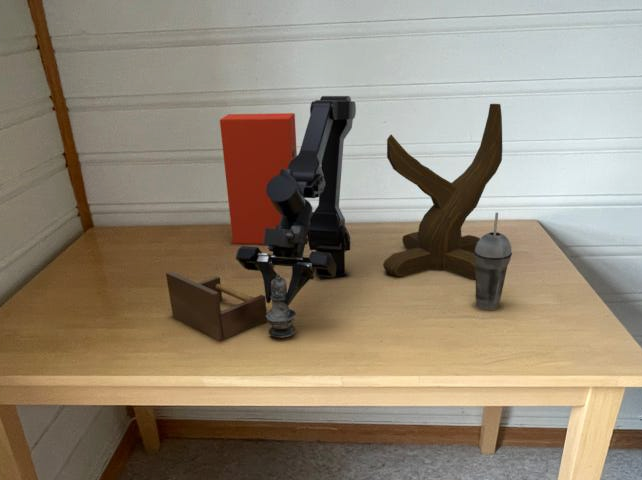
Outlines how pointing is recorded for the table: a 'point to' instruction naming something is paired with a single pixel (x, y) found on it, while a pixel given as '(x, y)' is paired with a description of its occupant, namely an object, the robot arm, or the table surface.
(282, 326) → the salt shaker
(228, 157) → the file binder
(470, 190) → the wooden stand
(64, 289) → the table surface
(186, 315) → the spice rack
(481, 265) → the beverage cup
